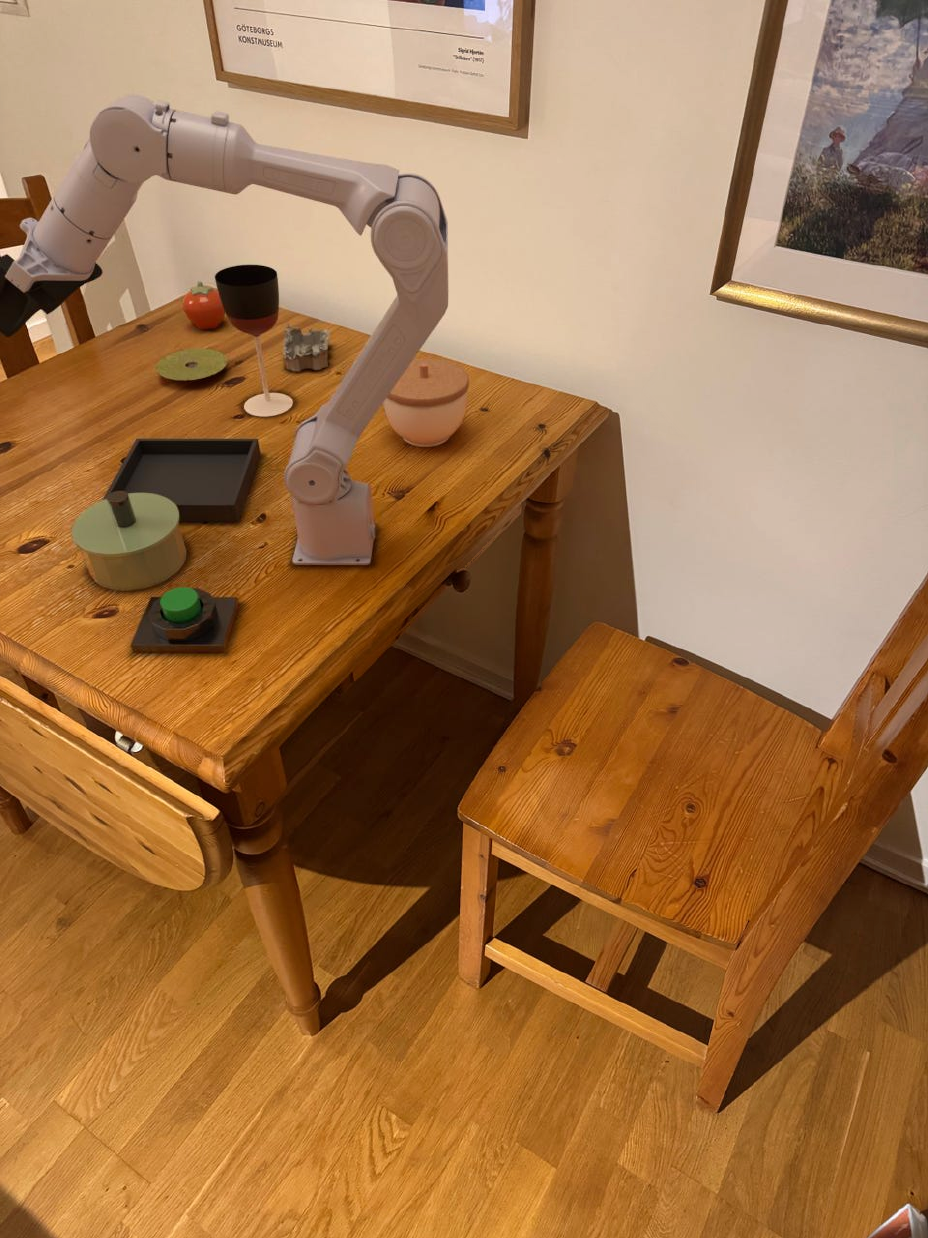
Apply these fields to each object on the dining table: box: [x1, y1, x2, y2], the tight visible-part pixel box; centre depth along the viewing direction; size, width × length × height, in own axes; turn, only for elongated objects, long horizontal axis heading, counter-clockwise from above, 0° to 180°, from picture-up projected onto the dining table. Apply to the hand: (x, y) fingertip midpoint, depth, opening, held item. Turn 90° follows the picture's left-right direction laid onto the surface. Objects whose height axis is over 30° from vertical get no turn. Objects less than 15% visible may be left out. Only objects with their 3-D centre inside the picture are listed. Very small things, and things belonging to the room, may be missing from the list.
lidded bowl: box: [382, 357, 470, 448], centre depth 123 cm, size 13×13×11 cm
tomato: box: [182, 280, 226, 331], centre depth 153 cm, size 7×7×8 cm
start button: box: [160, 586, 201, 622], centre depth 94 cm, size 4×4×2 cm
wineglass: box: [214, 264, 294, 417], centre depth 127 cm, size 8×9×20 cm
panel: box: [130, 587, 240, 654], centre depth 96 cm, size 10×8×3 cm
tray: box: [102, 438, 262, 523], centre depth 116 cm, size 17×16×3 cm
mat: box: [155, 347, 228, 382], centre depth 141 cm, size 11×11×2 cm
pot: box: [79, 523, 187, 592], centre depth 104 cm, size 11×11×5 cm
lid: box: [71, 491, 180, 557], centre depth 101 cm, size 12×12×5 cm
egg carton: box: [282, 323, 330, 372], centre depth 144 cm, size 11×8×4 cm
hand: (21, 317), depth 87 cm, fingers open, 7 cm apart
